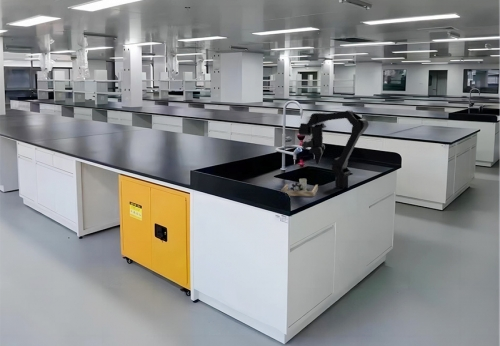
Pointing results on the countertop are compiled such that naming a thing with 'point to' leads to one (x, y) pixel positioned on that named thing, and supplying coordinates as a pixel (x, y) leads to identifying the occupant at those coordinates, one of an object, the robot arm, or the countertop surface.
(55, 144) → the countertop surface
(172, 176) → the countertop surface
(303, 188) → the valve
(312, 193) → the holding jig
